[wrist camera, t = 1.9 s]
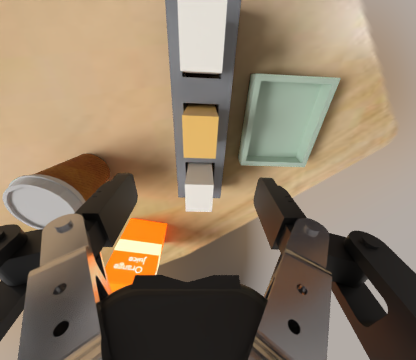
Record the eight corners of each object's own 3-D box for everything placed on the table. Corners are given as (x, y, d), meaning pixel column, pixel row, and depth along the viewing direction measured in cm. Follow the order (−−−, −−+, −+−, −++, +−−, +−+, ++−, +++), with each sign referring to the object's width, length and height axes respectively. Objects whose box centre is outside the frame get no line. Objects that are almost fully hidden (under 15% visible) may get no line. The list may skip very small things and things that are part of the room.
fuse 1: (187, 27, 21) (177, -6, 13) (218, 29, 21) (227, -2, 13) (188, 73, 24) (180, 70, 15) (215, 74, 24) (222, 72, 16)
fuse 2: (190, 155, 31) (184, 184, 22) (211, 155, 31) (213, 185, 23) (190, 177, 33) (185, 211, 25) (209, 178, 34) (211, 211, 25)
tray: (250, 73, 24) (256, 73, 22) (326, 77, 25) (340, 77, 22) (237, 158, 31) (240, 165, 29) (296, 159, 32) (304, 167, 29)
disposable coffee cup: (115, 149, 30) (70, 186, 20) (121, 191, 35) (87, 237, 25) (59, 141, 29) (-19, 175, 19) (73, 185, 34) (17, 231, 24)
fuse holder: (171, 4, 20) (164, -11, 17) (235, 8, 20) (241, -5, 17) (181, 185, 34) (178, 197, 31) (218, 186, 35) (220, 198, 31)
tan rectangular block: (189, 102, 26) (181, 115, 18) (214, 104, 26) (218, 116, 18) (189, 134, 29) (183, 157, 20) (212, 134, 29) (215, 158, 20)
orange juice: (130, 217, 39) (74, 324, 22) (167, 223, 40) (141, 328, 24) (130, 238, 43) (83, 342, 26) (164, 243, 44) (139, 344, 28)
